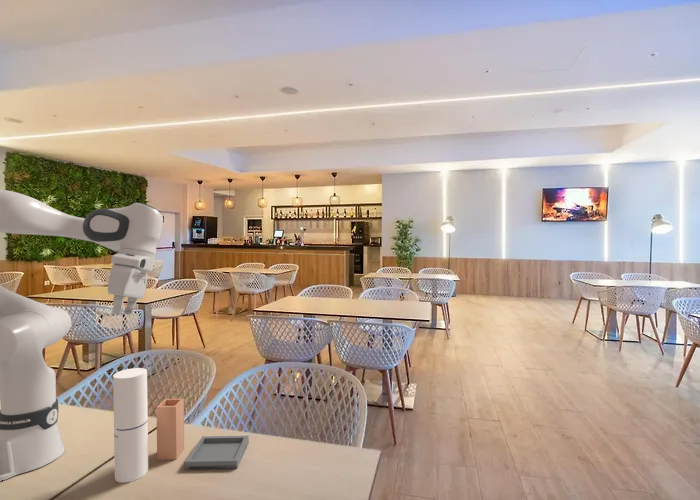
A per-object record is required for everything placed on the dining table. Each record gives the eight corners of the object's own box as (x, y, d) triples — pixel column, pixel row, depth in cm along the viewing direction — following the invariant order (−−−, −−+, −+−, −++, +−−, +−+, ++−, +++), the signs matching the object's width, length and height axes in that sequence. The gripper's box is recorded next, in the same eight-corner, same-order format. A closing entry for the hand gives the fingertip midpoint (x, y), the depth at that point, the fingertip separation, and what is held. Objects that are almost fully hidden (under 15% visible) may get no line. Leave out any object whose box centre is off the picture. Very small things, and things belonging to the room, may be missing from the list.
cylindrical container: (133, 484, 87) (131, 379, 87) (107, 480, 89) (105, 377, 88) (154, 466, 94) (153, 369, 94) (130, 462, 96) (129, 367, 95)
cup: (157, 459, 97) (156, 407, 97) (165, 449, 102) (165, 398, 102) (176, 459, 97) (175, 406, 97) (184, 448, 102) (183, 398, 102)
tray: (184, 469, 93) (184, 461, 93) (202, 443, 105) (202, 436, 105) (237, 468, 93) (237, 460, 93) (248, 442, 105) (248, 435, 105)
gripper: (133, 265, 109) (121, 312, 106) (109, 254, 89) (94, 312, 87) (156, 269, 110) (145, 315, 108) (138, 259, 91) (124, 316, 88)
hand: (122, 314), depth 97 cm, fingers open, 8 cm apart
